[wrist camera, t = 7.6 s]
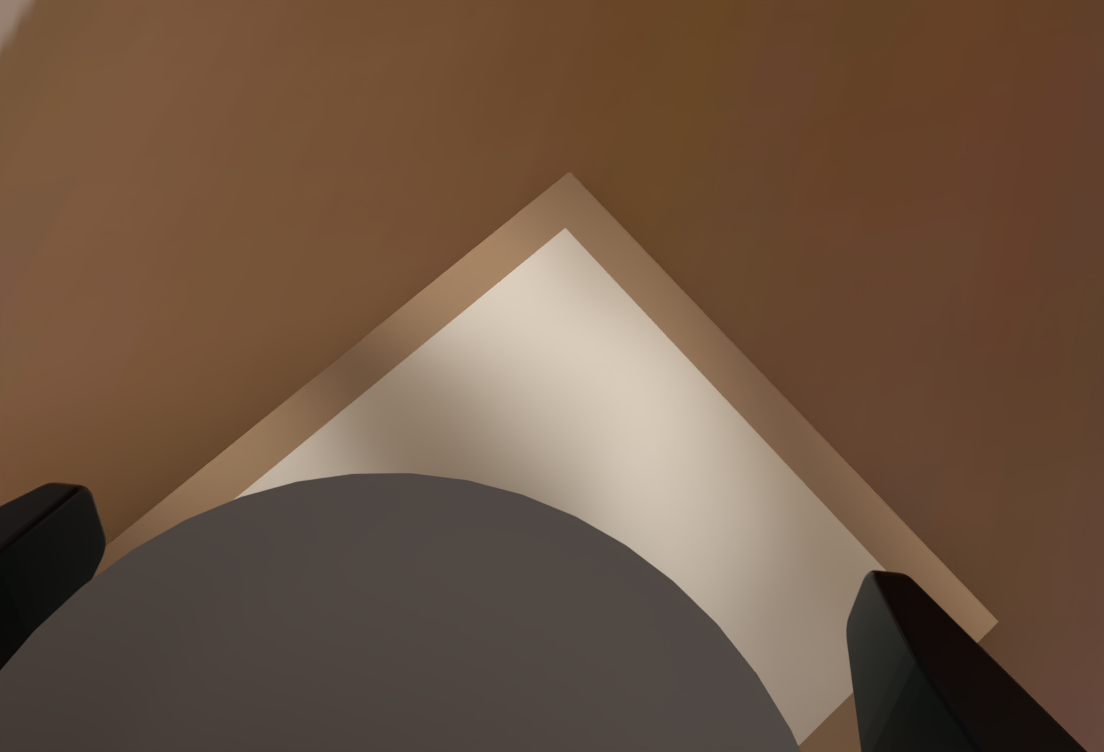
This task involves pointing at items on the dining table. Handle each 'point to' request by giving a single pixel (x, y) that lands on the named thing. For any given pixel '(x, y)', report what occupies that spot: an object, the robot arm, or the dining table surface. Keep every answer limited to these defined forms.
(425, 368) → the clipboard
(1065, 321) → the dining table surface
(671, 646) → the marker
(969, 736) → the robot arm
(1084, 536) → the dining table surface
